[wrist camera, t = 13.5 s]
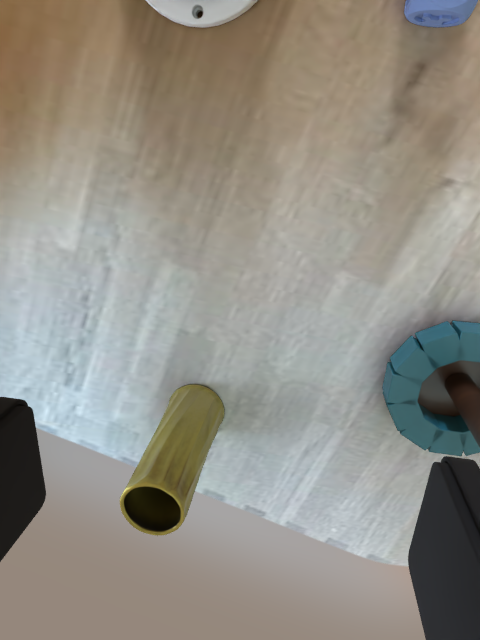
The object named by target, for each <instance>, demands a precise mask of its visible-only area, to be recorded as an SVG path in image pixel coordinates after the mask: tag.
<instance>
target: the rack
mask: <svg viewBox="0 0 480 640" xmlns="http://www.w3.org/2000/svg"><path fill="white" fill-rule="evenodd" d="M418 403H419V404H420V405H421V406H423V407H424V408H426V409H427V410H429V411H430V412H432V413H433V414H439V415H447V416H457V415H461V416H462V418H463V420H464V422H465V423H466V425H467V427H468V429H469V430H470V432H471V434H472V435H473V437H474V439H475V441H476V442H477V444H478V446H479V448H480V362H472V361H464V360H459V361H456V362H453V363H450V364H447V365H444V366H441V367H438V368H437V369H436V370H435V371H434V372H433V373H432V374H431V375H430V376H429V377H428V378H427V379H426V380H425V381H423V382H422V385H421V389H420V393H419V397H418Z"/></svg>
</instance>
